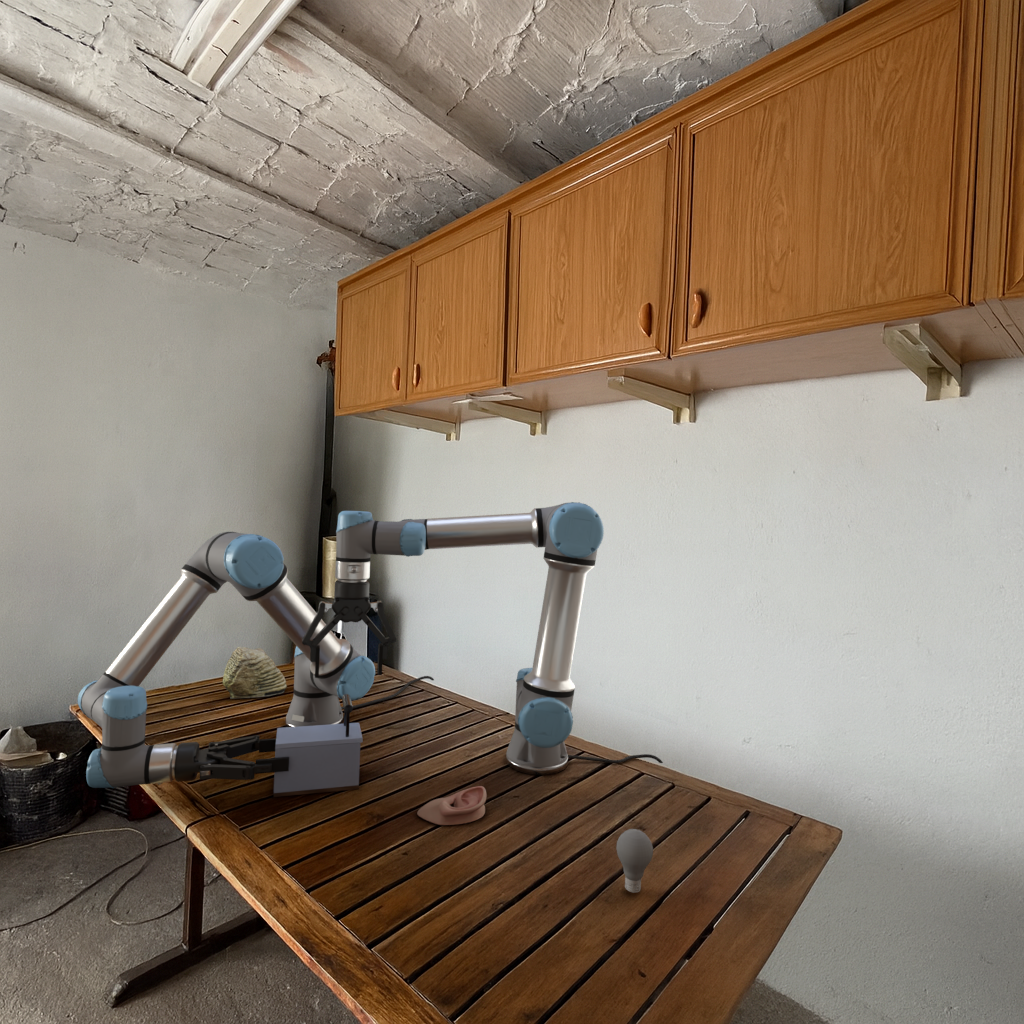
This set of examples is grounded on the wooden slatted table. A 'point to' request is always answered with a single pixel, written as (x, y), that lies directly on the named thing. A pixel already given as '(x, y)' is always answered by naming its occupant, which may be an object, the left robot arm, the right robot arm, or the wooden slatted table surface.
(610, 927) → the wooden slatted table surface
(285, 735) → the lid
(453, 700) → the wooden slatted table surface
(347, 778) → the chest
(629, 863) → the light bulb
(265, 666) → the fossil
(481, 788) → the anatomical model
